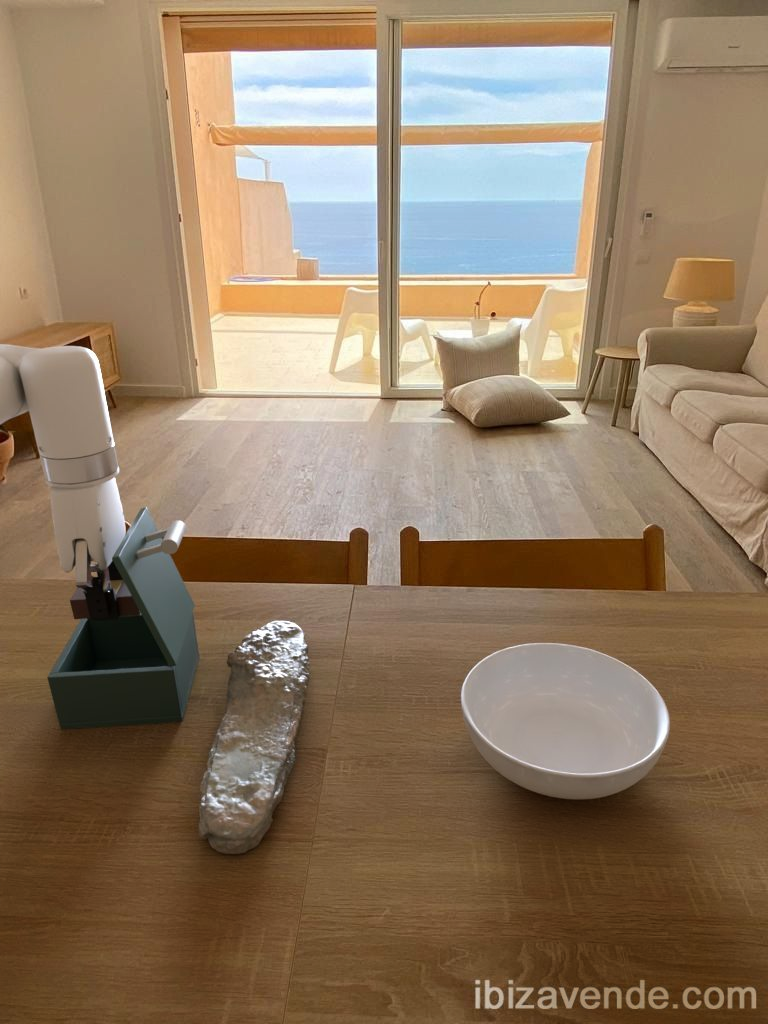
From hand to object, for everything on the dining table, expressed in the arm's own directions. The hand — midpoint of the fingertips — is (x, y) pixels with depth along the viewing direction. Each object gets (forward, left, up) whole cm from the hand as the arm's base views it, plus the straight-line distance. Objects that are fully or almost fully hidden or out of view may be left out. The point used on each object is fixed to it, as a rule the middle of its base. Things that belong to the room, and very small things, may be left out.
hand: (110, 606), depth 83 cm
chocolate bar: (0, 0, 0) cm, 0 cm away
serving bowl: (+50, -17, -11) cm, 54 cm away
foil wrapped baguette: (+18, -10, -11) cm, 23 cm away
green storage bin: (+2, -2, -11) cm, 11 cm away
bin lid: (+6, -3, +4) cm, 8 cm away
